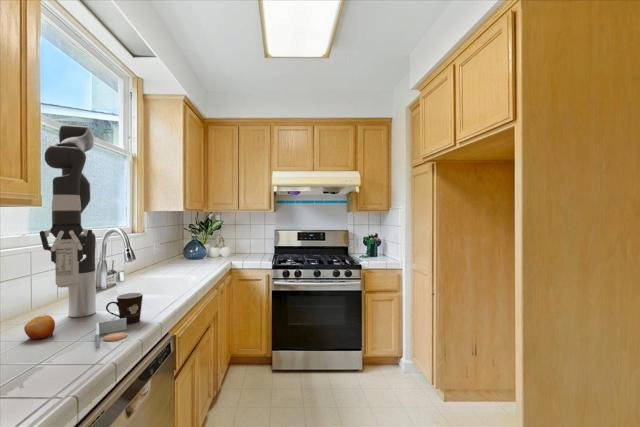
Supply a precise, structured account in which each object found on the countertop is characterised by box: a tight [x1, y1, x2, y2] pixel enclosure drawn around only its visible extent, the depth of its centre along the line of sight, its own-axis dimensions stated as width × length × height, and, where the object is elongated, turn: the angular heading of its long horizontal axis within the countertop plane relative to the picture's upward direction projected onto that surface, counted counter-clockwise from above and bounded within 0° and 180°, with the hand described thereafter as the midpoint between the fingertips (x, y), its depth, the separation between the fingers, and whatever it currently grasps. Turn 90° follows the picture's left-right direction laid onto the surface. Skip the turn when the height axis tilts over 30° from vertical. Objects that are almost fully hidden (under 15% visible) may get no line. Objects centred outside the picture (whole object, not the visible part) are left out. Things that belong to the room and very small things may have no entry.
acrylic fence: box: [95, 318, 127, 349], centre depth 117 cm, size 14×9×4 cm, turn 32°
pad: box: [102, 331, 129, 342], centre depth 117 cm, size 7×7×1 cm
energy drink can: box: [55, 239, 79, 288], centre depth 113 cm, size 6×6×15 cm
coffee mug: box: [105, 292, 144, 326], centre depth 133 cm, size 12×9×10 cm
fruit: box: [23, 314, 56, 340], centre depth 118 cm, size 8×8×8 cm
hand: (67, 262), depth 113 cm, fingers closed on energy drink can, 5 cm apart
